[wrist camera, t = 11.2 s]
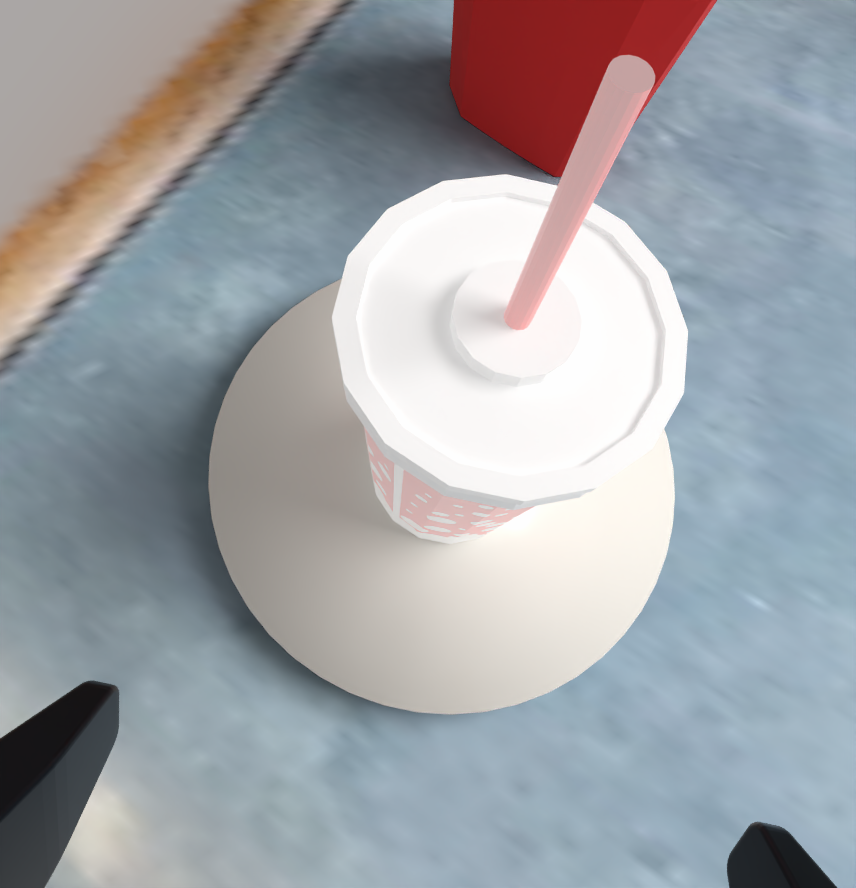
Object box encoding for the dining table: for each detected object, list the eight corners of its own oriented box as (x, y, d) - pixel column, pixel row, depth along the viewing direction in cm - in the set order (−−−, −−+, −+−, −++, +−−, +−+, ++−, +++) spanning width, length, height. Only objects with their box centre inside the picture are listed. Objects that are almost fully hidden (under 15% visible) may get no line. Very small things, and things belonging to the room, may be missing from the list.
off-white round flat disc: (619, 769, 19) (635, 776, 17) (143, 634, 18) (129, 633, 17) (684, 343, 23) (701, 327, 22) (302, 233, 23) (299, 211, 22)
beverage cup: (588, 469, 20) (1040, 106, 7) (450, 616, 18) (691, 519, 5) (444, 336, 21) (592, -218, 8) (300, 464, 19) (166, 38, 6)
